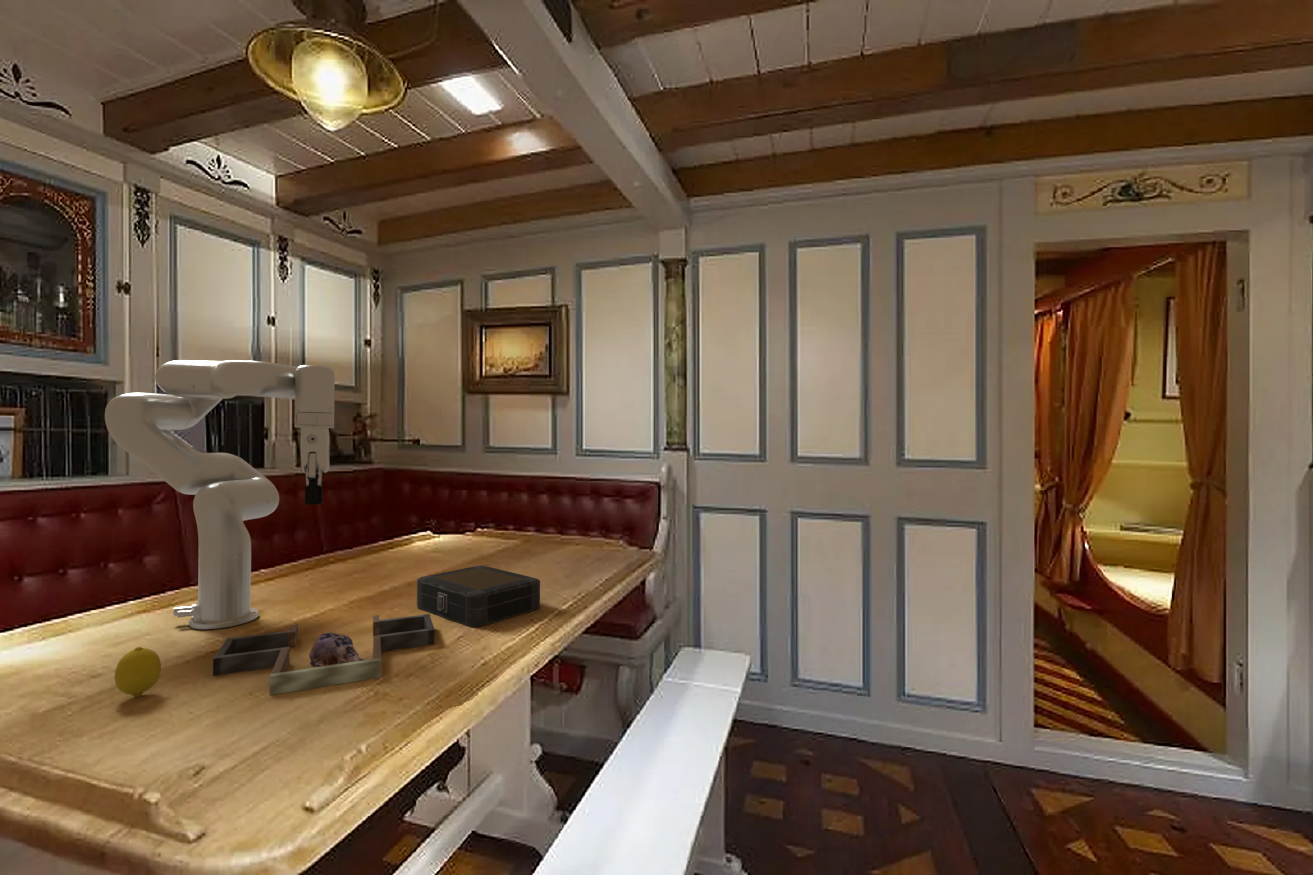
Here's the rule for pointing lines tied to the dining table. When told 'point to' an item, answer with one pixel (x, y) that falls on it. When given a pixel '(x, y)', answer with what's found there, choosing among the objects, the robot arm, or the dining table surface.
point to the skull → (333, 650)
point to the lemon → (137, 671)
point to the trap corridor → (275, 653)
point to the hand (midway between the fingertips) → (313, 503)
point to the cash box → (478, 595)
